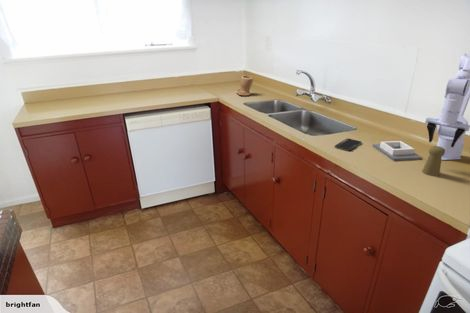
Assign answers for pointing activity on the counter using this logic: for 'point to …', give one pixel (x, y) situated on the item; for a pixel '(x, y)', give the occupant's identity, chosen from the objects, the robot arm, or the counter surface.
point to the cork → (434, 161)
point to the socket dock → (397, 150)
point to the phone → (348, 144)
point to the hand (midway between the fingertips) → (441, 144)
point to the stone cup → (245, 85)
